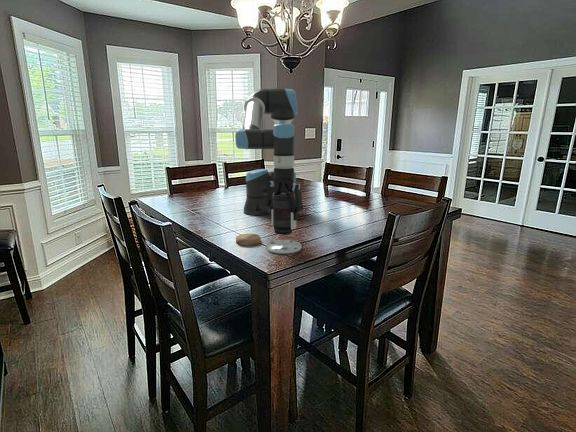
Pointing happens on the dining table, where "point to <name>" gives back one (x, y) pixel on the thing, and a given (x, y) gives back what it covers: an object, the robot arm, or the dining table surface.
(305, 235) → the dining table surface
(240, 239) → the walnut coaster
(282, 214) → the camera lens
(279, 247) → the mount flange
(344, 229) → the dining table surface
